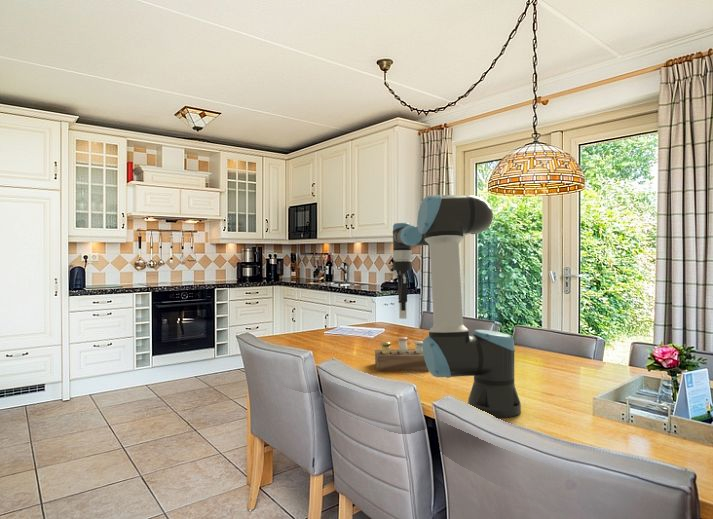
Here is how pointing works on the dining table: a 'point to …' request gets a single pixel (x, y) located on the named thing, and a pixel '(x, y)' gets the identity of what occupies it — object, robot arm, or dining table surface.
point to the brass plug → (385, 347)
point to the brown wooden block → (400, 361)
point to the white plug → (402, 345)
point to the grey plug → (419, 346)
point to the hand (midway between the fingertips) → (402, 318)
